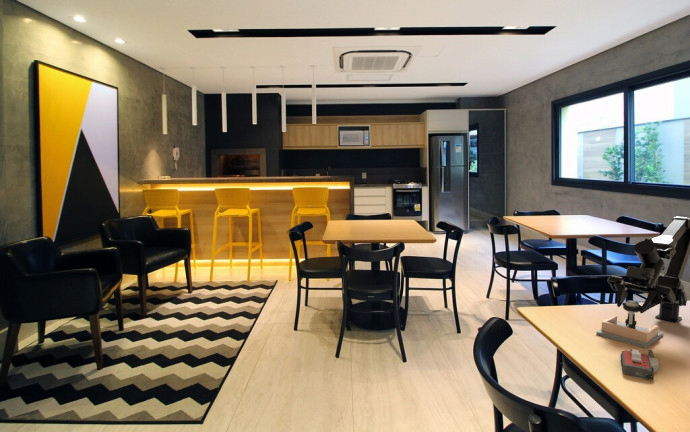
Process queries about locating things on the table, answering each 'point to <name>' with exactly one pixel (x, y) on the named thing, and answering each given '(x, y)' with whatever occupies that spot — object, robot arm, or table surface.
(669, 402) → the table surface
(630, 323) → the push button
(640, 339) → the end holder
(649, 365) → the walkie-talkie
